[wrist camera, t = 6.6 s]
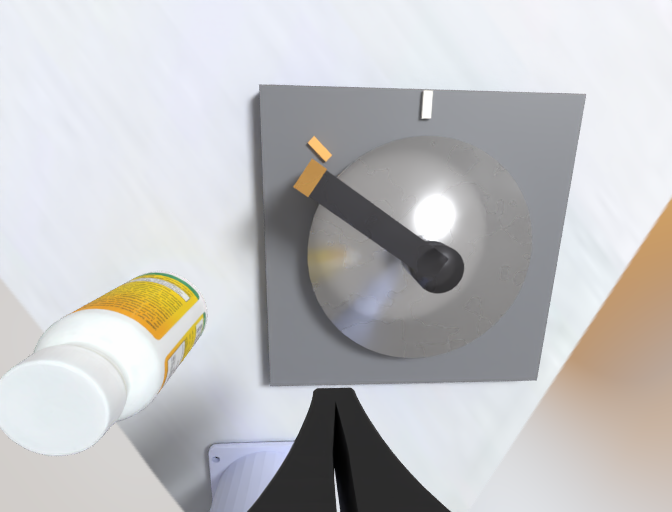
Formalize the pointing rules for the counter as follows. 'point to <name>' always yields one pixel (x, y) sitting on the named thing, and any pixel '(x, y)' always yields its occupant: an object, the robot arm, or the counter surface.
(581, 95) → the dial plate
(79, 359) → the supplement bottle
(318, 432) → the robot arm
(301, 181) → the dial
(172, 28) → the counter surface
